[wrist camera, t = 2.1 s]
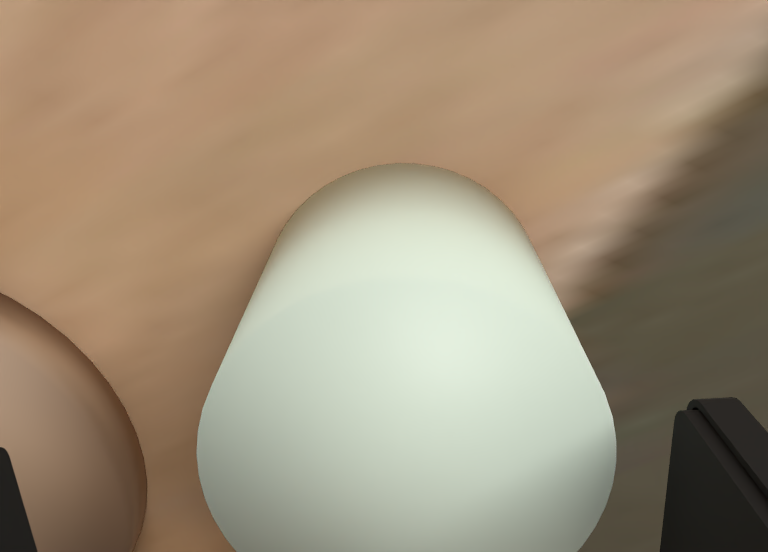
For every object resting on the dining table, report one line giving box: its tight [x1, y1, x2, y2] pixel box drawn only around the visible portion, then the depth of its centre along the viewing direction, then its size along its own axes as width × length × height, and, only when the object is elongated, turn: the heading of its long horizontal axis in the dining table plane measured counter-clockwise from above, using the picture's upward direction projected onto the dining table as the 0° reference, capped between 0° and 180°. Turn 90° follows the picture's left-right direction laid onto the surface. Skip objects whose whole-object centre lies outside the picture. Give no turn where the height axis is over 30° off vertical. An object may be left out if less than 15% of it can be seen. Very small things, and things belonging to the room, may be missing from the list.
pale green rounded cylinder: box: [197, 163, 616, 552], centre depth 14 cm, size 8×6×6 cm
